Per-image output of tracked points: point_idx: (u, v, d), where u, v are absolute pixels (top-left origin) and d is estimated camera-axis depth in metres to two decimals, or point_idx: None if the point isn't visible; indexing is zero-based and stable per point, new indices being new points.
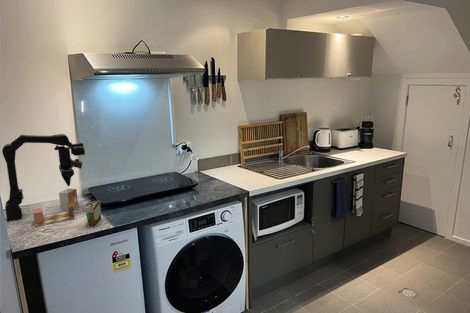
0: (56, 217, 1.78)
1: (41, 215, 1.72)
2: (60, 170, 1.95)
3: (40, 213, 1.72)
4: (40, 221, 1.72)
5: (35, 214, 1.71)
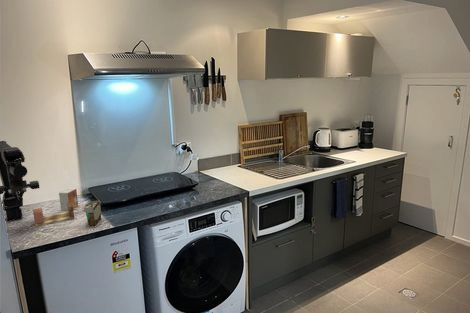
0: (56, 217, 1.78)
1: (41, 215, 1.72)
2: None
3: (40, 213, 1.72)
4: (40, 221, 1.72)
5: (35, 214, 1.71)
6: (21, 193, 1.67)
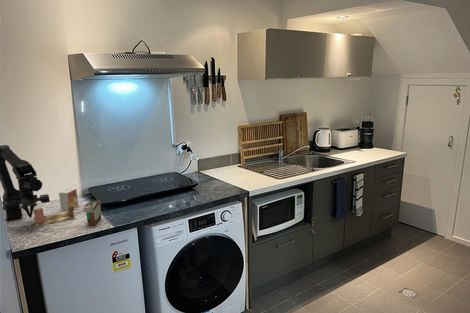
0: (56, 217, 1.78)
1: (42, 215, 1.72)
2: None
3: (41, 213, 1.72)
4: (41, 221, 1.73)
5: (36, 214, 1.71)
6: (32, 207, 1.70)
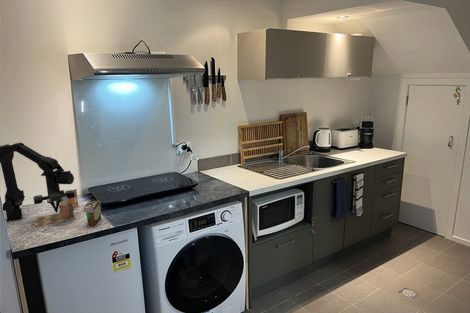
0: (56, 217, 1.78)
1: (67, 210, 1.78)
2: None
3: (66, 208, 1.78)
4: (66, 216, 1.78)
5: (62, 209, 1.77)
6: (58, 202, 1.76)
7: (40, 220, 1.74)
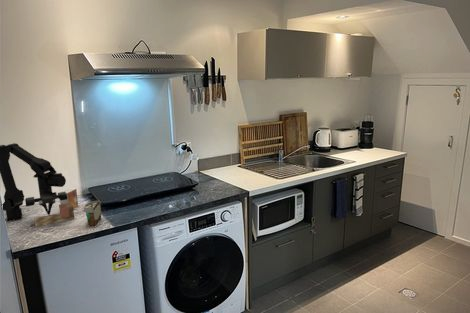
0: (56, 217, 1.78)
1: (67, 210, 1.78)
2: None
3: (66, 208, 1.78)
4: (66, 216, 1.78)
5: (62, 209, 1.77)
6: (50, 204, 1.75)
7: (40, 220, 1.74)
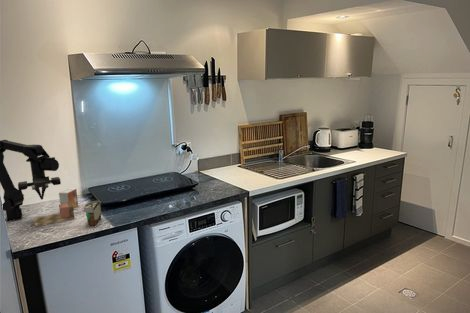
0: (56, 217, 1.78)
1: (67, 210, 1.78)
2: None
3: (66, 208, 1.78)
4: (66, 216, 1.78)
5: (62, 209, 1.77)
6: (43, 189, 1.74)
7: (40, 220, 1.74)
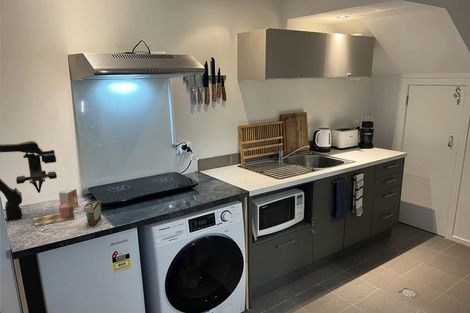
0: (56, 217, 1.78)
1: (67, 210, 1.78)
2: None
3: (66, 208, 1.78)
4: (66, 216, 1.78)
5: (62, 209, 1.77)
6: (40, 182, 1.84)
7: (40, 220, 1.74)
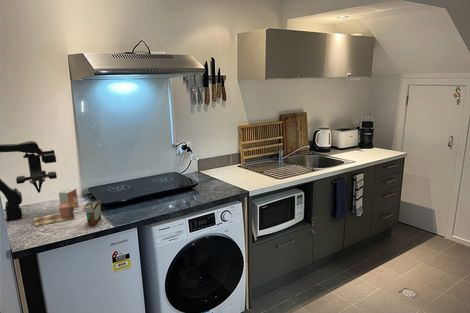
0: (56, 217, 1.78)
1: (67, 210, 1.78)
2: None
3: (66, 208, 1.78)
4: (66, 216, 1.78)
5: (62, 209, 1.77)
6: (40, 182, 1.84)
7: (40, 220, 1.74)
